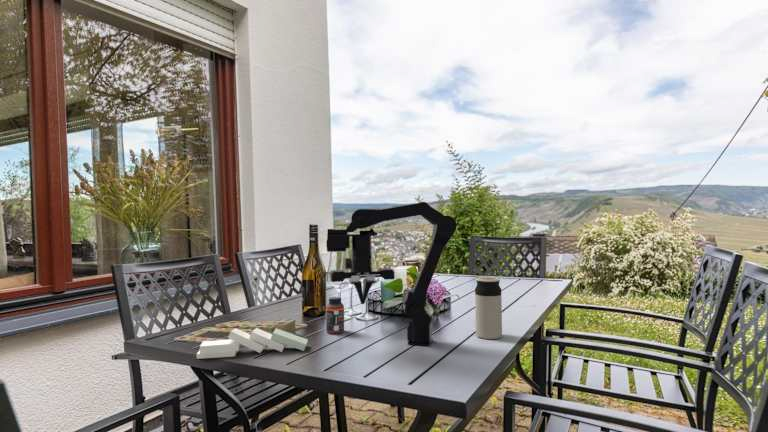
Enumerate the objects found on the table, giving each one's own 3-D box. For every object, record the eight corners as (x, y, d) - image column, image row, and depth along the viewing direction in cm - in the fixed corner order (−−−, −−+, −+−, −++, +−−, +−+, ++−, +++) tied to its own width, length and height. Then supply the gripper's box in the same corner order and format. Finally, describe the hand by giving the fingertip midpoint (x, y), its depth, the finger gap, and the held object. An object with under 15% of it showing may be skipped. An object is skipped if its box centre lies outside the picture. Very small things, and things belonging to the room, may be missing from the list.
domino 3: (267, 342, 130) (235, 327, 129) (263, 346, 125) (231, 331, 124) (263, 349, 129) (232, 334, 129) (260, 353, 124) (227, 337, 124)
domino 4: (287, 340, 131) (256, 327, 131) (284, 345, 126) (251, 331, 126) (285, 347, 131) (253, 334, 131) (281, 352, 126) (248, 338, 126)
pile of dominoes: (311, 327, 156) (310, 311, 156) (271, 350, 130) (271, 331, 130) (225, 322, 165) (224, 307, 165) (172, 343, 139) (171, 325, 139)
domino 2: (237, 346, 128) (200, 348, 126) (234, 351, 123) (196, 353, 121) (237, 353, 128) (200, 355, 126) (234, 358, 123) (196, 361, 121)
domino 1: (239, 338, 129) (202, 341, 126) (238, 343, 124) (199, 346, 121) (239, 345, 129) (202, 348, 126) (238, 350, 124) (199, 353, 121)
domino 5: (308, 339, 132) (275, 328, 131) (306, 344, 127) (272, 332, 126) (305, 346, 132) (273, 334, 131) (303, 351, 127) (270, 339, 126)
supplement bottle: (341, 334, 144) (340, 299, 144) (323, 333, 145) (323, 299, 145) (346, 329, 150) (346, 296, 150) (329, 329, 151) (329, 295, 151)
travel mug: (497, 341, 133) (496, 281, 133) (471, 337, 138) (471, 279, 138) (505, 335, 140) (504, 277, 140) (481, 331, 144) (480, 276, 144)
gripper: (386, 248, 142) (387, 297, 142) (327, 250, 138) (328, 300, 138) (394, 251, 131) (395, 304, 131) (331, 253, 128) (332, 307, 128)
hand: (362, 303), depth 133 cm, fingers closed
